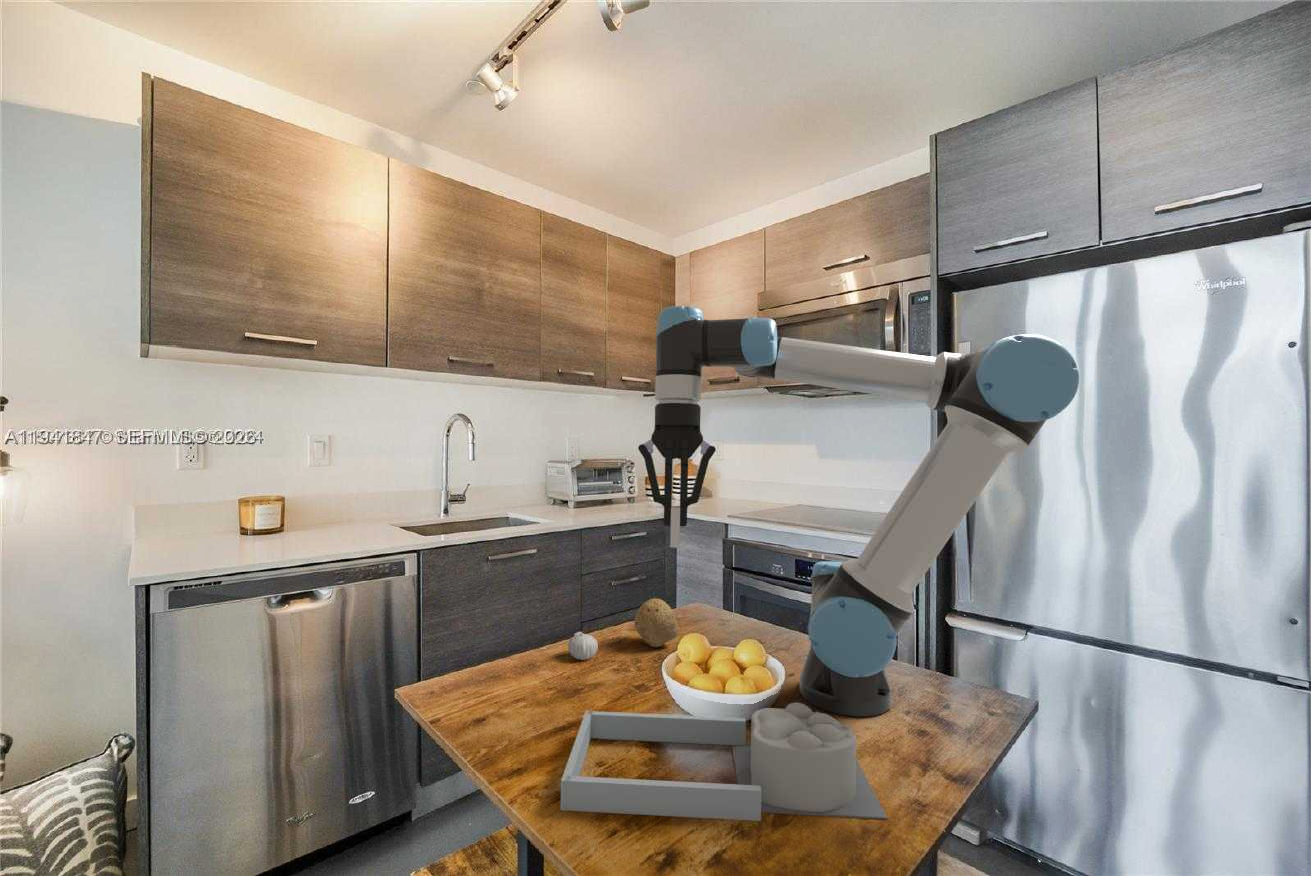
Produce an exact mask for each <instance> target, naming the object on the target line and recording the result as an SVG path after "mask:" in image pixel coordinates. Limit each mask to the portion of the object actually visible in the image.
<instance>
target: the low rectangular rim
mask: <svg viewBox="0 0 1311 876" xmlns="http://www.w3.org/2000/svg"><path fill="white" fill-rule="evenodd" d="M746 733H747V719H746V717H727V716H708V715H706V716H705V715H683V714H682V715H681V714H664V713H663V714H662V713H660V714H659V713H644V712H643V713H641V712H640V713H639V712H638V713H637V712H621V711H620V712H618V711H617V712H616V711H597V710H594V711H593V710H585V712H584V715H583V718H582V721H581V722H580V726H579V728H578V733H577V735H576V738H575V741H574V743H573V746H572V749H571V751H570V754H569V757H568V760H567V763H566V765H565V768H564V772H563V775H562V777H561V780H560V811H568V812H569V811H570V812H585V813H586V812H587V813H604V814H606V813H607V814H624V815H625V814H626V815H627V814H628V815H643V816H657V817H658V816H660V817H677V818H678V817H680V818H695V819H697V818H698V819H699V818H700V819H715V820H716V819H717V820H735V821H736V820H737V821H739V820H740V821H750V822H751V821H757V822H762V813H761V792H762V791H761V786H757V785H738V783H737V784H736V783H735V784H734V783H733V784H732V783H719V782H718V783H716V782H715V783H713V782H696V781H695V782H694V781H693V782H692V781H675V780H674V781H672V780H659V779H658V780H653V779H637V778H618V777H617V778H616V777H597V776H596V777H595V776H580V775H581V772H582V769H583V765H584V762H585V759H586V756H587V753H588V749H589V746H590V743H591V739H594V738H595V740H597V739H596V738H598V740H599V739H600V740H615V741H616V740H617V741H635V742H636V741H638V742H656V743H657V742H660V743H681V744H684V743H685V744H700V745H701V744H702V745H704V744H705V745H721V746H747V745H746V736H747V735H746Z"/></svg>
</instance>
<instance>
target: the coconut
mask: <svg viewBox="0 0 1311 876" xmlns="http://www.w3.org/2000/svg"><path fill="white" fill-rule="evenodd" d="M678 623H679V622H678V621H677V619H676V616H675V614H674V612H673V609H672V607H671V606H670V604H668V603H667V602H666V601H664V600H663V599H660V598H657V597H656V598H650V599H648V600H646V601H644V602H643V604H641V605H640V607H639V608H638V609H637V611H636V614H635V618H634V627H635V629H636V631H637V633H638V634H639V636H640V637H641V638H642V639H643V641H644V642H645V643H646V644H647V645H648V646H650V647H652V648H660V647H662V646H664V645H665V643H667V642H670V641H672V640H674V639H675V638H676V637H677V636H678V634H679V624H678Z"/></svg>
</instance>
